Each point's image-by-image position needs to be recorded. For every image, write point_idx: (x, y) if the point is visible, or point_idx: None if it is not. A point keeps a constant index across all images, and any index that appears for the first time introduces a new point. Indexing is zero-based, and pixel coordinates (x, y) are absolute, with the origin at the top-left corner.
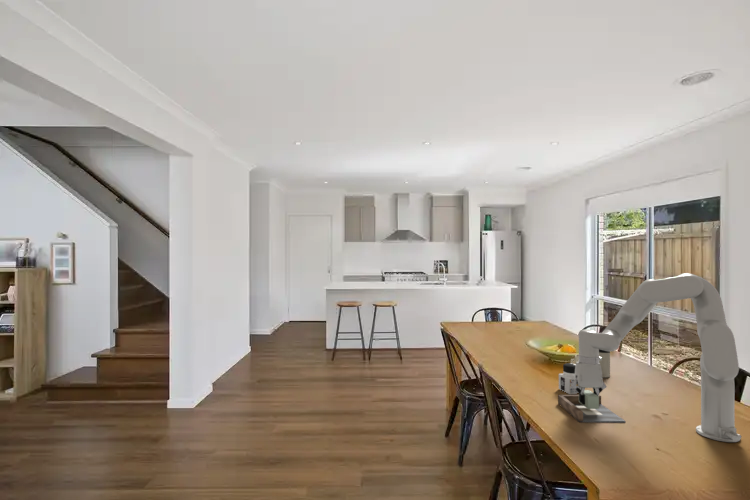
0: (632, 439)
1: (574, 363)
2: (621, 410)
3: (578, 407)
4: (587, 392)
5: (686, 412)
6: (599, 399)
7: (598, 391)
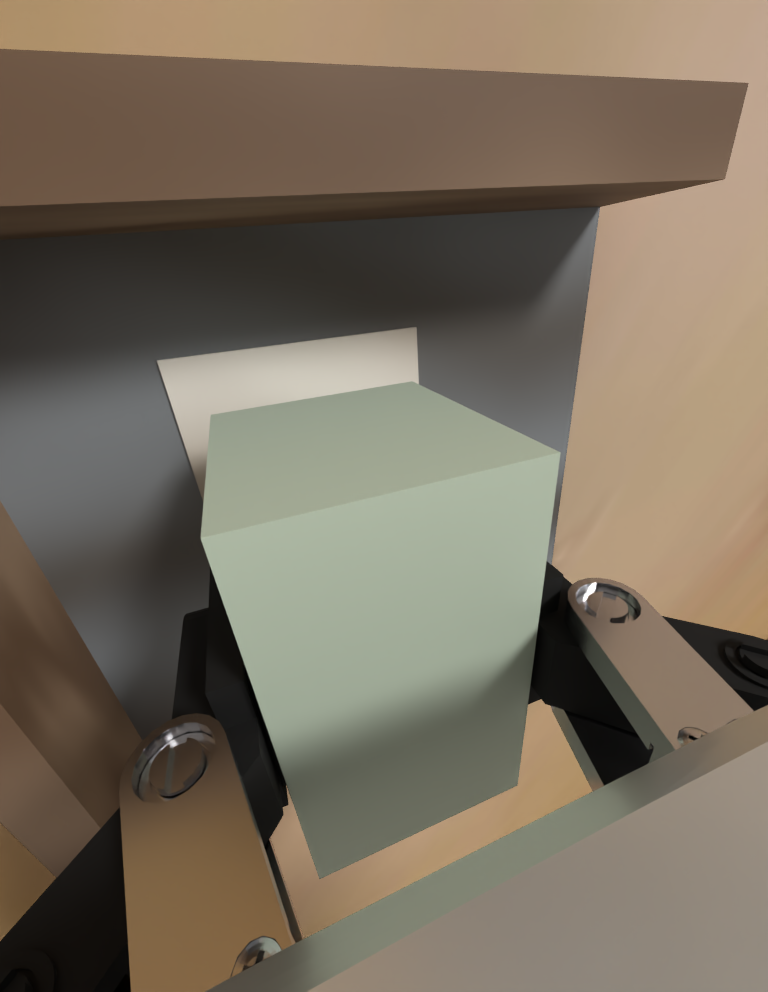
0: (429, 847)
1: None
2: (678, 378)
3: (199, 443)
4: (415, 666)
5: None
6: (639, 194)
7: (627, 747)
